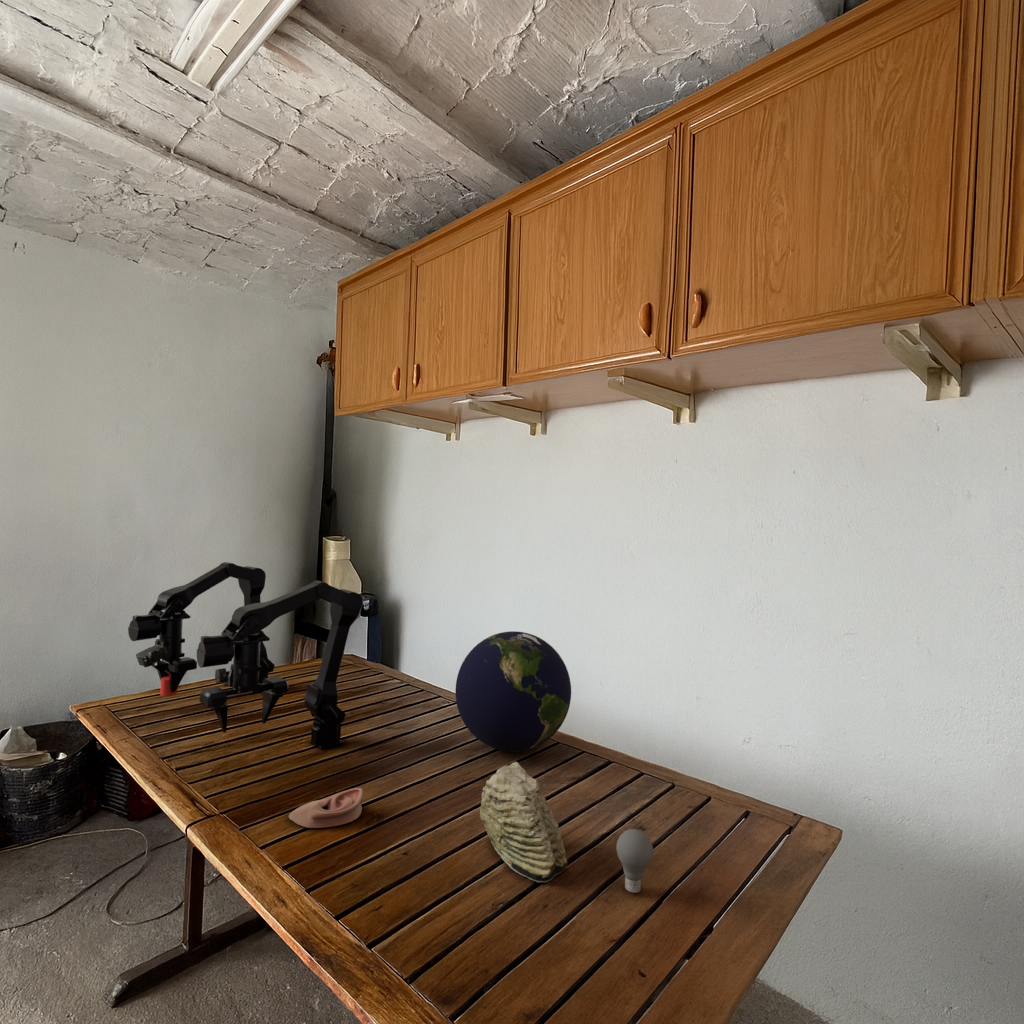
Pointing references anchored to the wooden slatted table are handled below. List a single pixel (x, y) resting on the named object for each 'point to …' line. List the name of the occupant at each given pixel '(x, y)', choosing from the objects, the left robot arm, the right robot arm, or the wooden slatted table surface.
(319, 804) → the anatomical model
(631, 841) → the light bulb
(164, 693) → the canister
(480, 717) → the globe
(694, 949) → the wooden slatted table surface
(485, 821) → the fossil
